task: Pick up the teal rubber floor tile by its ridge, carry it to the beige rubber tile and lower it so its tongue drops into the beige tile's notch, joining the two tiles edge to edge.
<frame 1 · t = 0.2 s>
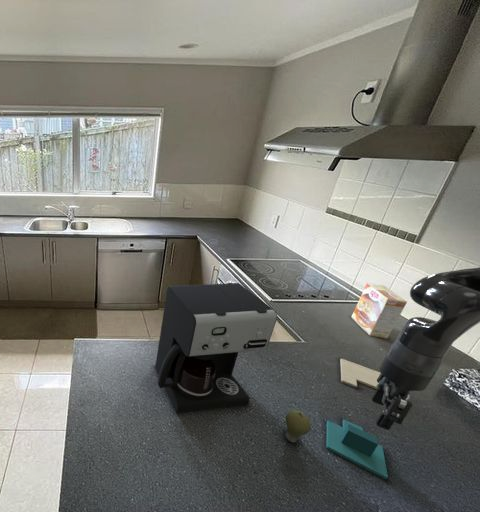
hand: (379, 414, 68), 17 cm above the worktop, tool pointing down, fingers open, 8 cm apart
coffee maker: (192, 387, 94), on the worktop
beige tile: (365, 381, 99), on the worktop
coffeecake box: (367, 328, 130), on the worktop
teal tile: (352, 449, 76), on the worktop
light bulb: (289, 440, 78), on the worktop
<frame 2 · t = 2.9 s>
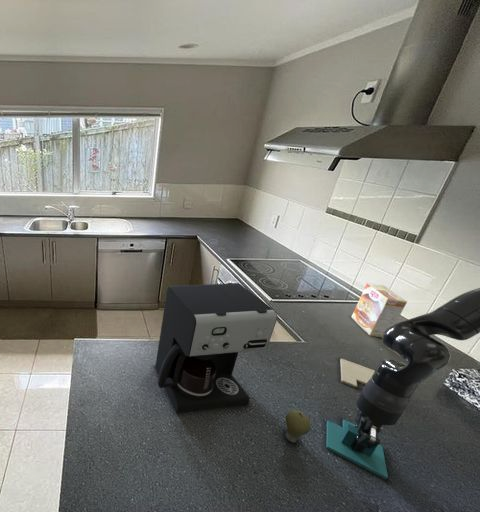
hand: (355, 445, 76), 2 cm above the worktop, tool pointing down, fingers closed on teal tile, 2 cm apart
teal tile: (353, 449, 76), on the worktop, touching gripper
everything else where it was.
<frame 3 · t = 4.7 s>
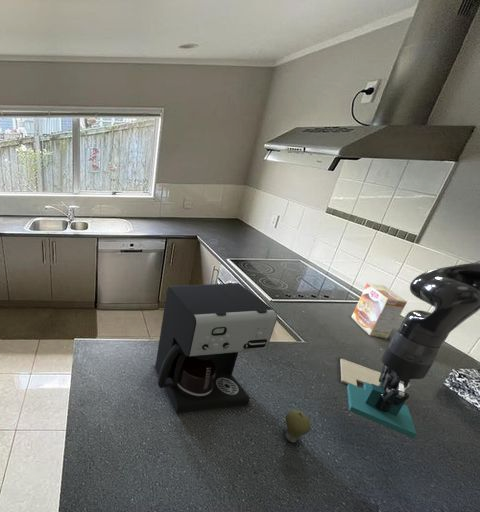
hand: (380, 405, 73), 15 cm above the worktop, tool pointing down, fingers closed on teal tile, 2 cm apart
teal tile: (377, 410, 74), point 13 cm above the worktop, touching gripper
everything else where it was.
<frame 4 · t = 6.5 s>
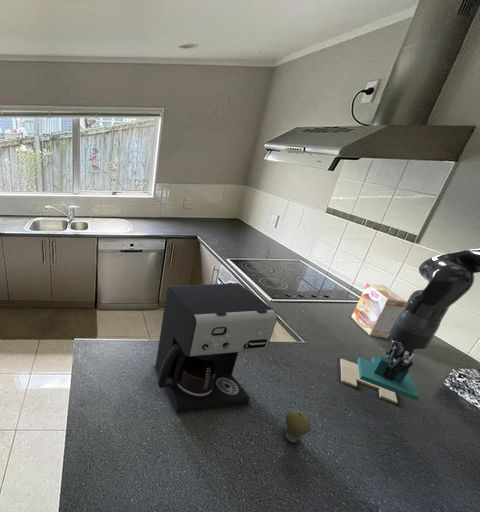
hand: (387, 374, 83), 14 cm above the worktop, tool pointing down, fingers closed on teal tile, 2 cm apart
teal tile: (384, 379, 84), point 12 cm above the worktop, touching gripper
everything else where it was.
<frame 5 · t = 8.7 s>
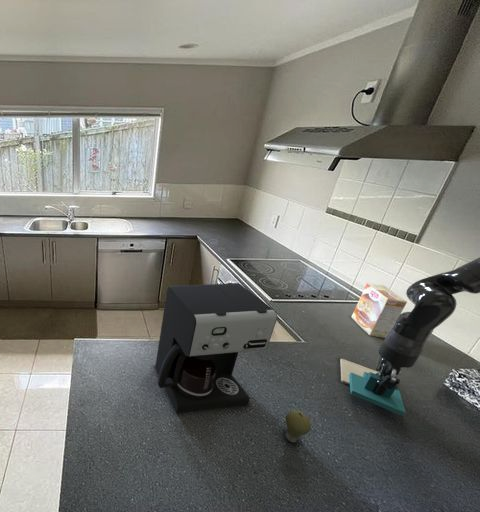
hand: (376, 389, 88), 6 cm above the worktop, tool pointing down, fingers closed on teal tile, 2 cm apart
teal tile: (374, 394, 89), point 4 cm above the worktop, touching gripper
everything else where it was.
when the fingers open (2 cm above the worktop, at t = 10.3 s): teal tile stays where it is, on the worktop.
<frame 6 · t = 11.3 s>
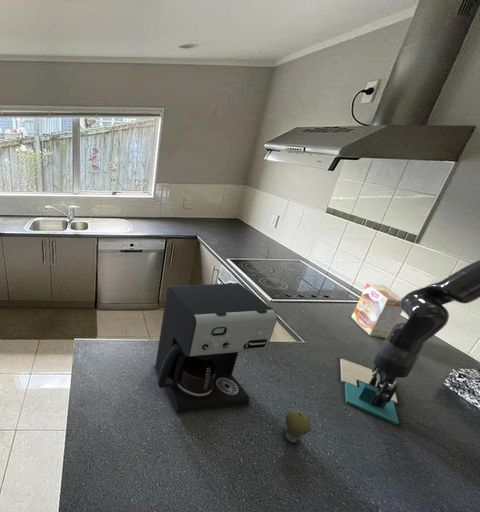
hand: (373, 396, 89), 4 cm above the worktop, tool pointing down, fingers open, 8 cm apart
teal tile: (368, 404, 90), on the worktop
everything else where it was.
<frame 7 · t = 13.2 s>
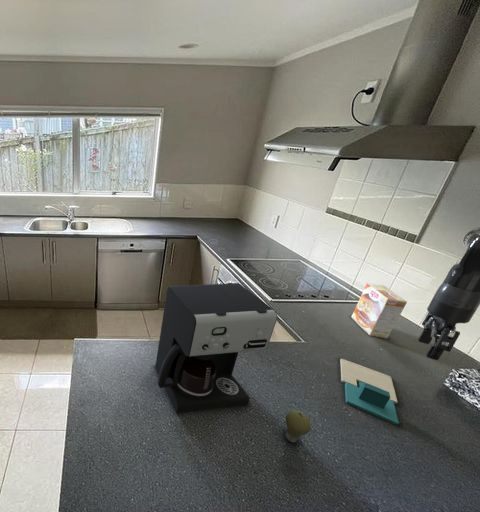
hand: (427, 349, 80), 24 cm above the worktop, tool pointing down, fingers open, 8 cm apart
nothing on the worktop moved.
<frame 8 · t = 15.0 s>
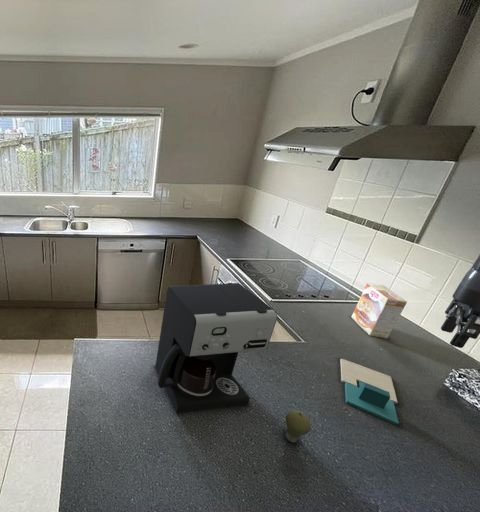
hand: (450, 338, 78), 28 cm above the worktop, tool pointing down, fingers open, 8 cm apart
nothing on the worktop moved.
at the end: teal tile 0.1 cm from the target spot on the worktop beside the beige tile, on the worktop; teal tile tilted 0°; the gripper is holding nothing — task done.
